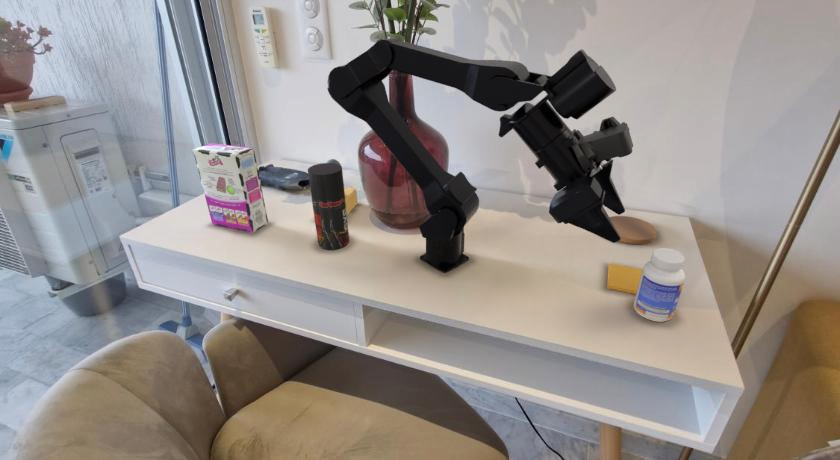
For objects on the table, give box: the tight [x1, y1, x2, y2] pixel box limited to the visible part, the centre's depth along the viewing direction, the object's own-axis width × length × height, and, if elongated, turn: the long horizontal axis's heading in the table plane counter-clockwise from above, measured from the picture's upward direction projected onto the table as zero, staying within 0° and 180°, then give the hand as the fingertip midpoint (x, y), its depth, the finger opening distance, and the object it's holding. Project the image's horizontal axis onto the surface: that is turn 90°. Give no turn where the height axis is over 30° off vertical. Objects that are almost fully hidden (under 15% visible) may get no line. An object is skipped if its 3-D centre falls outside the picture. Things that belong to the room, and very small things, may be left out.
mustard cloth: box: [606, 263, 643, 295], centre depth 71 cm, size 7×7×1 cm
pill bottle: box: [633, 247, 686, 323], centre depth 62 cm, size 5×5×10 cm
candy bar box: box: [192, 142, 269, 234], centre depth 87 cm, size 11×5×16 cm, turn 68°
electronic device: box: [258, 163, 310, 192], centre depth 109 cm, size 9×6×15 cm
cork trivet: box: [609, 215, 658, 245], centre depth 86 cm, size 10×10×1 cm
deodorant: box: [307, 162, 350, 251], centre depth 80 cm, size 6×6×15 cm
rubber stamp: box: [325, 158, 359, 216], centre depth 93 cm, size 10×6×12 cm, turn 167°
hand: (620, 226), depth 61 cm, fingers open, 9 cm apart
